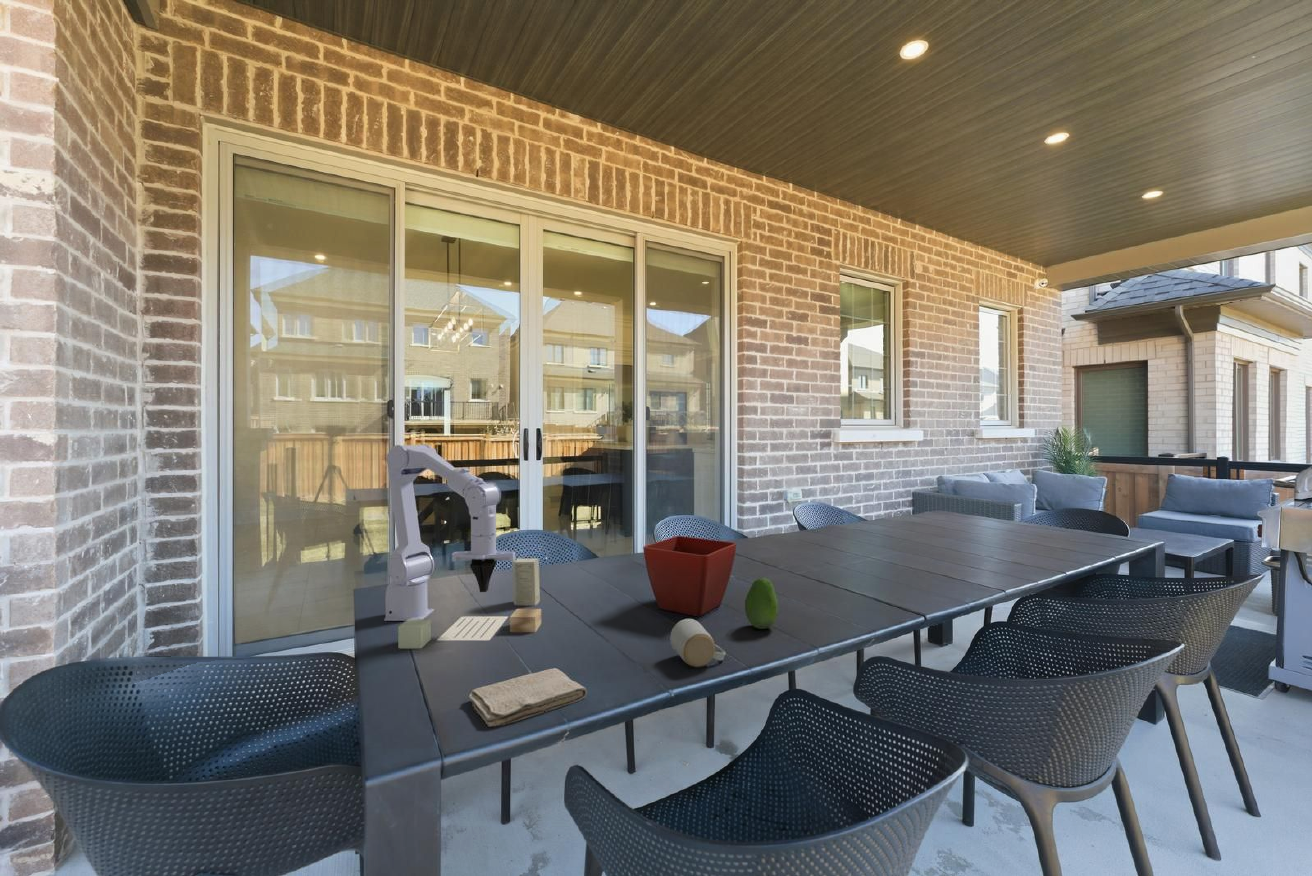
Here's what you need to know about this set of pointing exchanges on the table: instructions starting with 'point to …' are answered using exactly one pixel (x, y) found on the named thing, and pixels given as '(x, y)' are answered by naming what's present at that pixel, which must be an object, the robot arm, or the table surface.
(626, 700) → the table surface
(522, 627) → the oak block
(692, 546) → the plant pot
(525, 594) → the skincare box
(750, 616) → the fruit
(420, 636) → the sage cube
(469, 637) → the letter
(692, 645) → the ceramic mug
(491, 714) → the washcloth
